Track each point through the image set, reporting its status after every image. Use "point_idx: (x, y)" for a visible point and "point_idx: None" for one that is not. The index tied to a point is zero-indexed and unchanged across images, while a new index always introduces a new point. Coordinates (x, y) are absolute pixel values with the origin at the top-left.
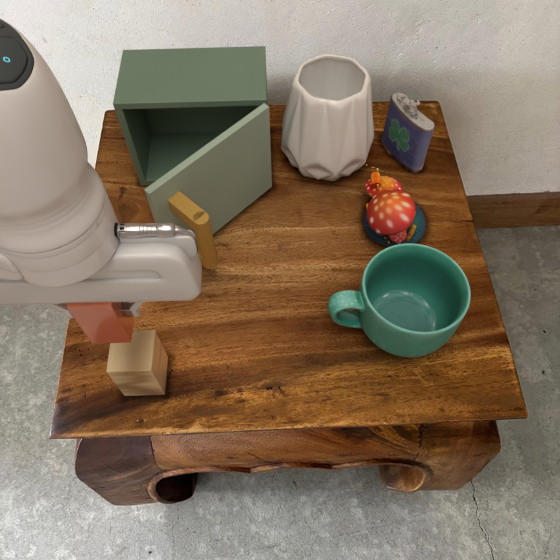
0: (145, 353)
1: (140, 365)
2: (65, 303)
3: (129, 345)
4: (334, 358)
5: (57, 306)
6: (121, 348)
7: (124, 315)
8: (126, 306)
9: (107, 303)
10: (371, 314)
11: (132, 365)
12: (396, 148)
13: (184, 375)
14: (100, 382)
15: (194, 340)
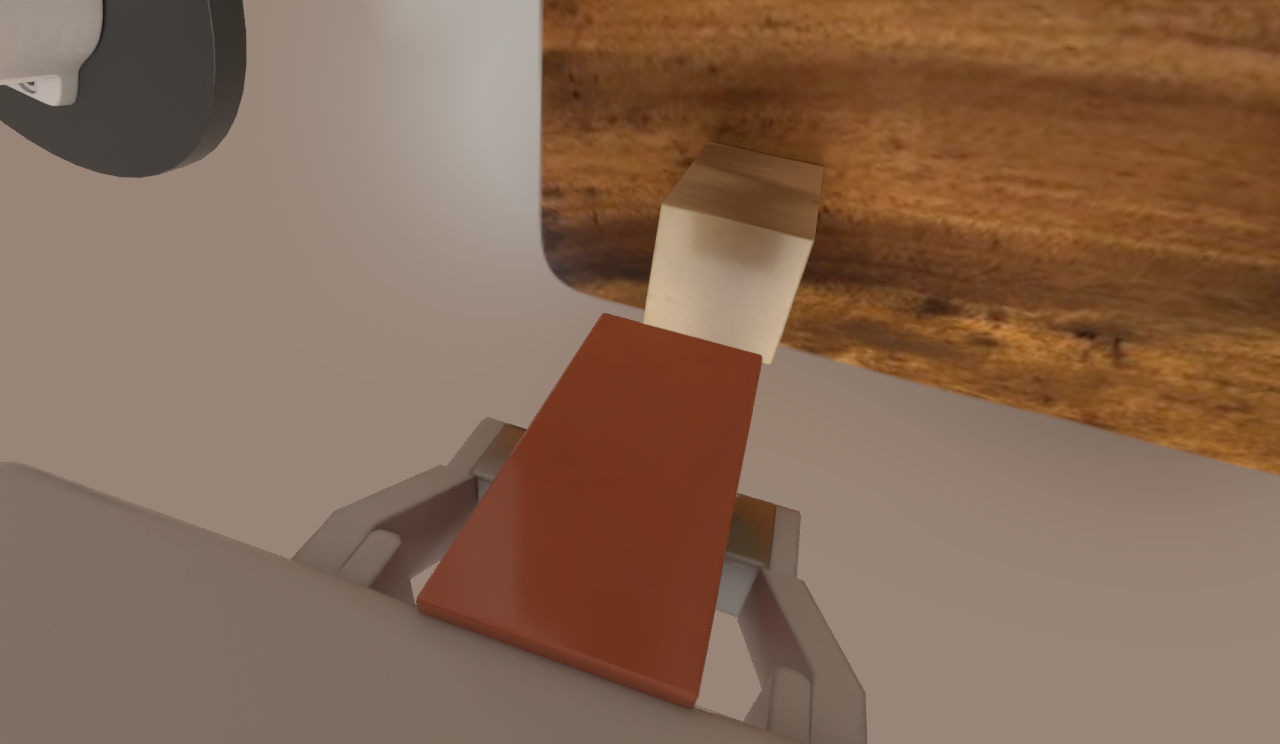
0: (763, 312)
1: (742, 344)
2: (447, 534)
3: (716, 272)
4: None
5: (413, 574)
6: (689, 275)
7: None
8: (728, 599)
9: None
10: None
11: (718, 337)
12: None
13: (856, 234)
14: (630, 193)
15: (926, 126)
